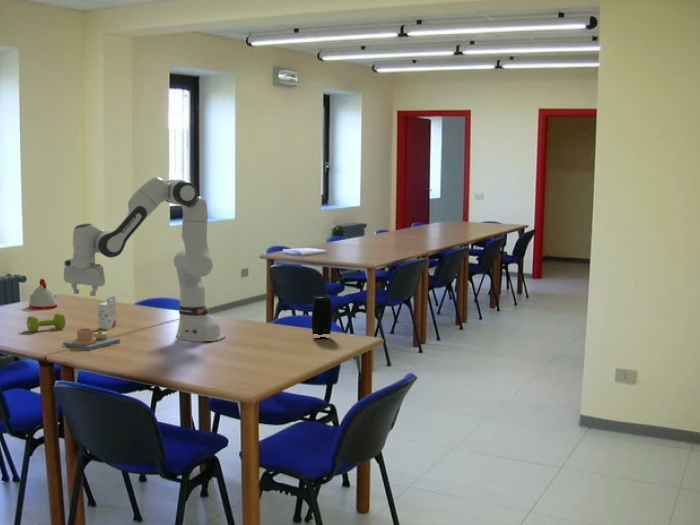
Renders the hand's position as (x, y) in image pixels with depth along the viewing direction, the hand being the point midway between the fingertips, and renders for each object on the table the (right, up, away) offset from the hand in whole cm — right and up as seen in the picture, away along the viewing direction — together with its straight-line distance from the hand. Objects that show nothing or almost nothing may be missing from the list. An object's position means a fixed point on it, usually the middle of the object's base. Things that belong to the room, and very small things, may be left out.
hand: (84, 294), depth 346 cm
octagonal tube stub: (-1, -20, +2) cm, 20 cm away
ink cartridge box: (-3, -17, +42) cm, 45 cm away
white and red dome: (-50, -10, +87) cm, 101 cm away
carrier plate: (+1, -21, +6) cm, 22 cm away
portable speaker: (+99, -21, +34) cm, 107 cm away
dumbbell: (-28, -18, +32) cm, 46 cm away
